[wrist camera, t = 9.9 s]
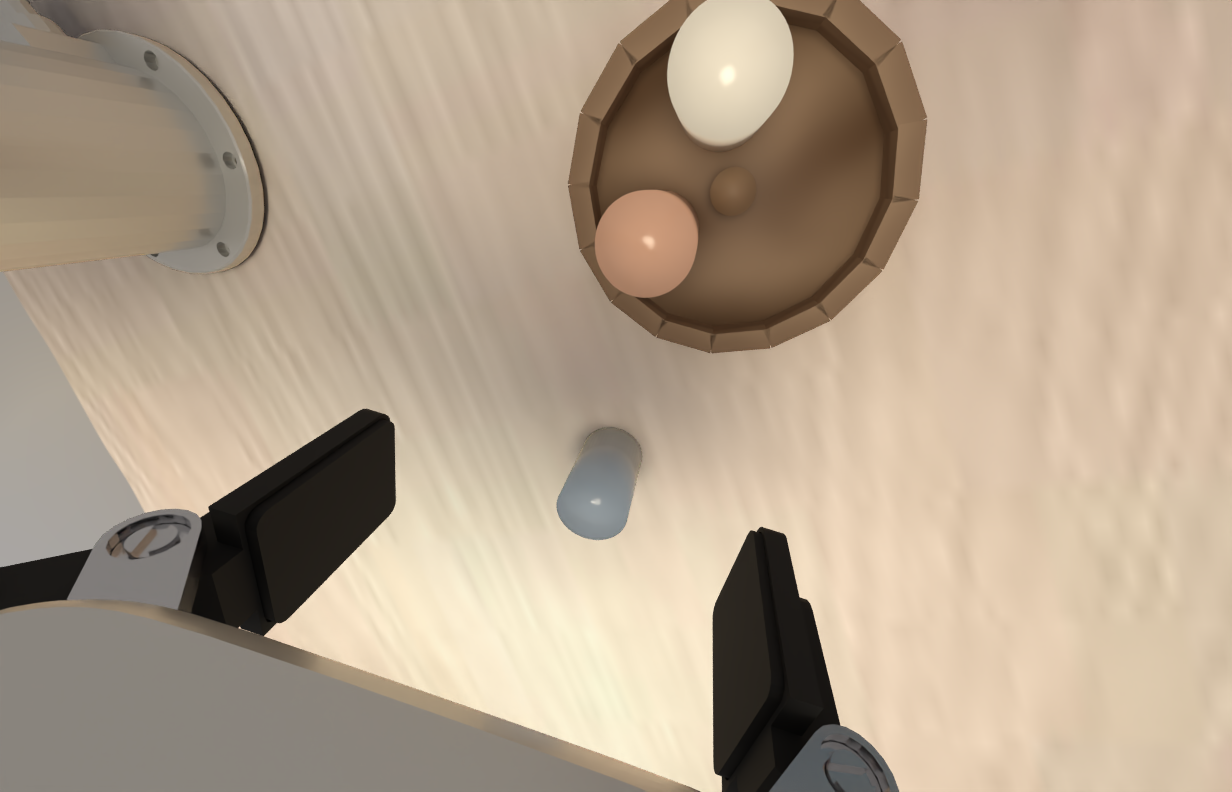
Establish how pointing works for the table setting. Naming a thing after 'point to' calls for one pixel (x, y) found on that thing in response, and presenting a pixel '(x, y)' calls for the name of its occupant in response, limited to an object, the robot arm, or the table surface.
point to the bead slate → (601, 485)
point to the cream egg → (729, 70)
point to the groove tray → (761, 177)
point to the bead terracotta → (647, 242)
